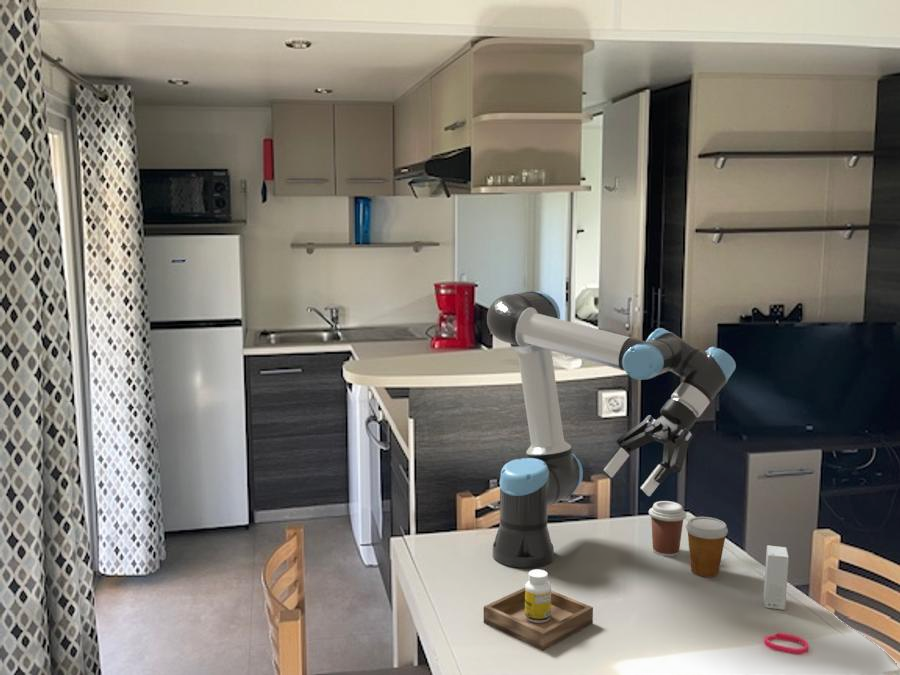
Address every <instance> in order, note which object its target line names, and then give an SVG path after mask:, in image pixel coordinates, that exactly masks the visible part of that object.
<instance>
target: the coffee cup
mask: <svg viewBox="0 0 900 675" xmlns="http://www.w3.org/2000/svg"><path fill="white" fill-rule="evenodd" d="M648 515H649V516H650V517H651V538H652V540H651V541H652V552H653V553H654V554H655V555H657V556H658V555H659V556H662V557H676V556H678V555H679V553H680V549H681V548H680V546H681V539H682V532H683V525H684V520H685V519H686V518H687V513H686V511H685V510H684V509H683V506H682V505H681V504H680V503H678V502H675V501H669V500H659V501H656V502H654V503H653V505H652V507H651V508H649V510H648Z"/></svg>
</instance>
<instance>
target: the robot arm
mask: <svg viewBox="0 0 900 675" xmlns="http://www.w3.org/2000/svg"><path fill="white" fill-rule="evenodd" d="M486 323H487V327H488V329H489V331H490V333H491V334H492V335H493V336H494V337H495V338H496V339H498V340H500V341H501V342H505V343H508V344H510V348H511V349H512V350H513V351H515V352H516V353H517V356H518V358H517V359H518V365H519V371H520V379H521V385H522V391H523V392H522V393H523V399H524V400H523V401H524V405H525V411H526V412H525V413H526V421H527V426H528V432H529V433H528V434H529V439H530V446H529V447H528V449H527V450H526V452H525V453H526V457H524V458H523V457H522V458H516V459H512V460H509V461H508V462H506V463H505V464H504V465H503V466H502V468H501V470H500V478H499V497H500V498H499V526H498V529H497V533H496V536H495V538H494V541H493V543H492V558H493V559H494V560H495V561H496V562H498V563H499V564H502V565H504V566H509V567H513V568H519V569H520V568H522V569H533V568H538V567H543V566H546V565H548V564H550V563H551V562H552V561H553V560H554V558H555V556H554V554H555V548H554V545H553V543H552V539H551V536H550V532H549V528H548V510H549V509H548V508H549V507H550V506H553V505H554V504H556V503H558V502H560V501H563V500H565V499H568V498H569V497H570V496H572V495H573V494H574V493H575V492H577V490H578V489H579V488H580V486H581V484H582V481H583V476H584V475H583V474H584V470H583V466H582V463H581V462H580V461H581V460H580V459H579V458H577V457H576V455H575V453H573V451H572V450H573V449H572V446H571V444H569V443H568V442H567V441H566V440H565V437H564V432H563V431H564V430H563V424H562V418H561V417H562V416H561V410H560V409H561V408H560V402H559V395H558V394H559V393H558V387H557V381H556V375H555V368H554V367H555V366H554V361H553V360H554V359H553V352H556V353H560V354H562V355H566V356H571V357H573V358H578V359H581V360H584V361H588V362H590V363H591V362H592V363H594V364H598V365H602V366H606V367H609V368H612V369H615V370H616V369H617V370H620V371H624V372H625V373H626V374H627V375H628V376H629V377H631V378H632V379H634V380H637V381H638V380H640V381H642V380H643V381H644V380H650V379H653V378H655V377H657V376H660V375H662V374H664V373H668V372H672V373H673V374H675V375H676V376H678V377H680V378H681V379H683V380H682V382H681V383H680V384H679V386H677V388H676V389H675V390H674V392H673V393H672V394H671V396H670V398H669V399H668V400H667V401H666V402H665V403H664V405H663V406H662V407H661V409H659V411H660V414H659V415H660V416H659V417H658V418H657V419H654V417H652V415H650V414H649V415H647V416H646V417H645V418H644V420H642V422H640V423H638V424H637V425H636V426H634V427H633V428H631V429H630V430H629V431H627V432H626V433H625V434H623V435H622V436H620V437H618V439H617V440H616V443H617V445H618V446H619V447H618V449H617V450H616V451H615V452H614V453H613V455H612V456H611V459H610V461H609V462H608V463H607V464H606V466H605V467H604V469H603V471H604V472H605V474H607V475H608V476H609V477H610V478H614V476H615V475H616V473H618V471H619V469H620V468H621V467H622V466H623V465H624V463H625V462H626V461H627V460H628V458H629V457H630V456H631V455H630V453H631V452H633V451H634V450H635V451H636V450H637V449H638V448H641V447H643V446H645V445H647V444H649V443H655V442H656V443H657V442H658V443H661V444H662V445H663V453H662V461H661V462H660V463H659V464H657V465H656V467H655V468H654V469H653V470H652V472H651V473H650V475H649V476H648V478H646V480H645V481H644V483H643V484H642V485H641V486H640V490H641V491H643V493H644V494H645V495H646V496H648V497H651V496H652V494H653V493H654V492H655V490H656V489H657V488H658V486H659V485H661V484H662V483H663V482H664V481H665V479H666V478H667V477H668V476H669V474H672V473H673V472H675V473H676V474H679V473H680V472H682V469H683V465H684V462H685V458H686V455H687V452H688V448H689V445H690V443H691V442H692V440H693V438H694V435H693V433H691V431H690V430H691V429H692V427H693V426H694V424H695V423H696V422H697V418H699V417H701V416H702V414H703V413H704V411H706V408H707V407H708V406H709V404H711V402H712V401H713V400H714V398H715V397H716V396H717V394H718V393H719V392H720V391H721V389H722V388H723V387H724V386H725V384H728V380H729V379H730V377H731V376H732V374H733V373H734V372H735V370H736V368H737V367H736V366H737V364H736V361H735V360H734V358H733V357H732V356H731V355H730V354H729V353H728V352H726V351H725V350H723V349H721V348H718V347H716V346H711V347H709V348H708V349H706V350H705V351H703V350H702V349H699V348H697V347H696V346H694V345H692V344H691V343H690V342H687V341H686V340H685V339H683V338H681V337H679V336H677V335H676V334H675V333H674V332H671V331H669V330H666V328H662V327H658V328H655V329H654V331H652V332H651V333H650V334H649V335H648V337H647V339H646V340H641V339H638V338H633V337H630V336H627V335H622V334H618V333H615V332H611V331H607V330H603V329H599V328H595V327H592V326H587V325H583V324H580V323H575V322H572V321H568V320H564V319H562V318H561V311H560V307H559V305H558V304H557V301H556V300H555V299H554V298H553V297H551V296H550V295H549V294H548V293H546V292H543V291H538V290H537V291H534V290H532V291H529V290H528V291H525V292H518V293H511V294H505V295H501V296H500V297H498V298H496V299H495V300H494V301H493V302H492V303H491V305H490V306H489V308H488V310H487V314H486ZM552 351H553V352H552Z"/></svg>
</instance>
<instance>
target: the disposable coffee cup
mask: <svg viewBox="0 0 900 675" xmlns="http://www.w3.org/2000/svg"><path fill="white" fill-rule="evenodd" d="M685 529H686V532H687V538H688V539H687V540H688V550H689V562H690V571H691V573H693V575H696V576H700V577H705V578H711V577H716V576H719V573H720V568H721V562H722V557H723V551H724V546H725V540H726V536H727V535H728V533H729V529H728V527H727V524H726V522H724V521H723V520H721V519H718V518H715V517H710V516H709V517H708V516H695V517H691V518H689V519H688V521H687V524H686V525H685Z"/></svg>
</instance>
